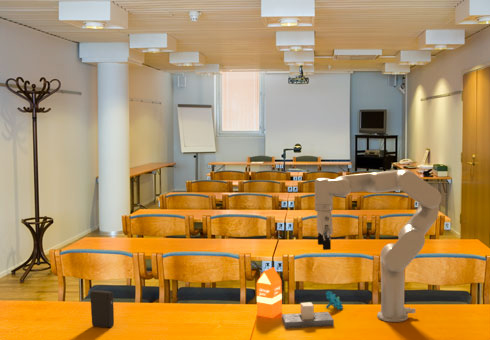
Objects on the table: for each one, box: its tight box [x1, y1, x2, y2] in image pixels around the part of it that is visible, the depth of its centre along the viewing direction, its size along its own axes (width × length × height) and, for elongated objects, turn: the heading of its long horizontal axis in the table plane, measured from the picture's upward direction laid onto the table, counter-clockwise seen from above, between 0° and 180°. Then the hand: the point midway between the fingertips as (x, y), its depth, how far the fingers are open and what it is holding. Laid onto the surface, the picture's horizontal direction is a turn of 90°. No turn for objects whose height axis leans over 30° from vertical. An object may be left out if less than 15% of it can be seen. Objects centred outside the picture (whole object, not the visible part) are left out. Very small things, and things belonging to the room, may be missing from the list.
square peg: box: [300, 301, 315, 320], centre depth 251 cm, size 4×4×8 cm
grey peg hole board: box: [281, 311, 335, 329], centre depth 251 cm, size 20×10×2 cm, turn 95°
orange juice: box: [256, 266, 283, 319], centre depth 263 cm, size 8×9×20 cm
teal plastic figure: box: [325, 290, 344, 311], centre depth 270 cm, size 11×6×10 cm
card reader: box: [90, 289, 115, 328], centre depth 252 cm, size 9×4×15 cm, turn 71°
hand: (324, 247), depth 257 cm, fingers open, 9 cm apart
